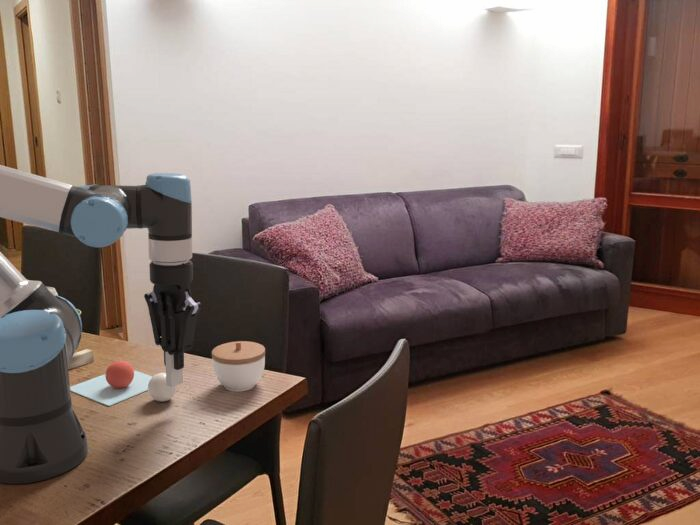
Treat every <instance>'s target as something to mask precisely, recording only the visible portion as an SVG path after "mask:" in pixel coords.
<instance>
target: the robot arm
mask: <svg viewBox="0 0 700 525" xmlns="http://www.w3.org/2000/svg"><path fill="white" fill-rule="evenodd" d="M145 179H146V180H145V184H141V185H114V184H113V185H108V184H107V185H106V184H103V185H101V184H97V183H96V184H95V183H93V184H90V185H89V184H88V185H78V186H76V185H73V184H69V183H67V182H62V181H59V180H56V179H53V178H50V177H49V178H48V177H45V176H41V175H37V174H34V173H31V172H27V171H24V170H20V169H17V168H13V167H9V166H6V165H3V164H0V218H2V219H4V220H5V219H6V220H9V221H14V222H17V223H21V224H24V225H29V226H34V227H37V228H41V229H44V230H49V231H53V232H55V233H56V232H57V233H60V234H63V235H67V236H71V237H74V238H77V239H78V240H79V241H80V242H81V243H83V244H84V245H86V246H89V247H91V248H104V247H105V248H106V247H108V246H110V245H111V246H112V245H113V244H114V243H116V242H117V241H118V240H119V239H121V237H123V236H124V233H125V232H126V231H127V230H128V229H139V230H140V229H147V231H148V233H147V234H148V236H147V237H148V238H147V239H148V259H149V260H151V261H150V263H149V281H150V283H152V284H153V287H152V288H153V289H152V291H150V292H147V293H145V294H144V295H143V298H144V300H145V302H146V304H147V307H148V312H149V313H148V314H149V318H150V323H151V327H152V333H153V339H154V343H155V345H156V346H160V347H161V350H162V351H163V364H164V366H165V373H166V385H167V386H170V387H173V386H176V385H177V386H178V385H181V384H183V383H184V376H183V375H184V373H183V369H184V367H185V352H187V351H189V350H192V349H193V344H194V340H195V334H196V328H197V320H198V316H199V315H198V314H199V313H200V311H201V309H202V303H201V302H200V301H198V302H195V301H194V299H193V298H192V292H191V289H190V285H191V283H192V282H193V279H194V269H193V268H194V263H193V261H191V259H192V258H193V227H192V226H193V225H192V221H193V217H192V216H193V215H192V214H193V212H192V208H193V206H192V203H193V201H192V189H191V180H190V178H189V177H188V176H187V175H185V174H182V173H175V172H162V173H161V172H160V173H156V172H155V173H150V174H147V176H146V178H145ZM47 287H48V286H46V285H45V284H44V283H43V282H42V281H41V280H30V279H27V278H26V277H25V276H24V275H23V274H22V273H21V272H20V271H19V270H18V269H17V268H16V267H15V265H13V263H12V262H11V261H10V260H9V259H8V258H7V257H6V256H5V255H4V254H3V253H2V252H1V251H0V483H2V484H7V485H8V484H10V485H11V484H13V485H17V484H18V485H19V484H20V485H21V484H31V483H35V482H41V481H44V480H49V479H52V478H55V477H58V476H59V475H62V474H64V473H67V472H68V471H71V470H73V469H74V468H75V467H77V466H78V465H80V464H81V463H82V462H83V461H84V459H85V458H86V457H87V454H88V452H89V447H88V446H89V445H88V438H87V435H86V433H85V431H84V429H83V426H82V424H81V422H80V421H79V419H78V417H77V414H76V412H75V411H74V409H73V402H72V394H71V393H72V392H71V391H70V387H71V384H70V376H69V375H70V373H69V372H70V371H69V370H68V367H69V364H70V361H71V359H72V357H73V354H74V353H76V350H77V349H78V347H79V345H80V343H81V340H82V333H83V324H82V323H83V322H82V318H81V315H79V313H78V311H77V309H78V308H76V307H75V305H74V304H73V303H72V302H71V301H69V300H68V299H66V298H65V297H62V296H59V295H58V296H57V295H53V294H52V293H51V292H50V291H49V290H48V289H47Z"/></svg>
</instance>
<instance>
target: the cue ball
mask: <svg viewBox="0 0 700 525" xmlns="http://www.w3.org/2000/svg"><path fill="white" fill-rule="evenodd" d="M177 391H178V385H176V386H173V387H170V386H167V385H166V372H158V373H156V374H155V375H153V376H152V378H151V379H150V381H149V384H148V393H149V396H150V397H151V398H152V399H153V400H155V401H156V402H166V401H170V400H171V399H172V398H174V397H175V395H176V394H177Z"/></svg>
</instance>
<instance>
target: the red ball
mask: <svg viewBox="0 0 700 525" xmlns="http://www.w3.org/2000/svg"><path fill="white" fill-rule="evenodd" d="M104 374H105V376H106V381H107V382H108V384H109V385H110V386H112V387H114V388H124V387H126V386H128V385H129V384H130V383H131V382H132V380H133V378H134V368H133V366H132V365H131V364H130V363H129V362H127V361H124V360H117V361H115V362H112V363H110V365H108V367H107V368H106V371H105V373H104Z"/></svg>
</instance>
